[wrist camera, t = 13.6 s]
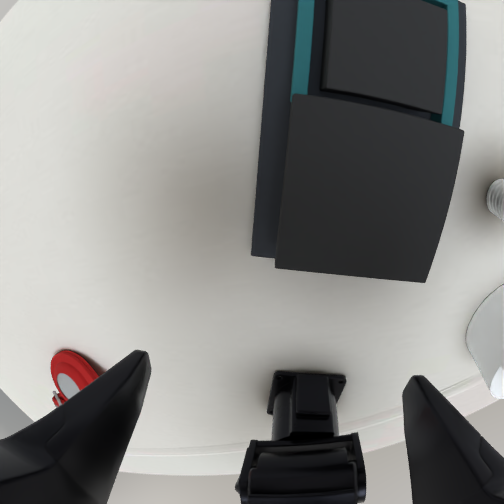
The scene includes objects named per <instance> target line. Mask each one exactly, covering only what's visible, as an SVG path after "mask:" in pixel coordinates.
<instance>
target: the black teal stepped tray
mask: <svg viewBox="0 0 504 504" xmlns="http://www.w3.org/2000/svg"><path fill="white" fill-rule="evenodd" d="M422 1H425V2H427V3H430V4H433V5H435V6H438V7H440V8H443V9H445V10H447V23H448V28H447V61H446V77H445V88H444V98H443V107H442V114H434V113H427V112H419V111H415V110H411V109H408V108H404V107H400V106H396V105H392V104H387V103H383V102H378V101H374V100H369V99H364V98H359V97H354V96H348V95H343V94H337V93H331V92H324V91H320V90H319V87H320V76H321V65H322V52H323V39H324V25H325V9H326V0H271V10H270V23H269V35H268V48H267V60H266V73H265V85H264V98H263V110H262V123H261V135H260V148H259V160H258V173H257V186H256V198H255V211H254V224H253V236H252V249H251V256H258V257H267V258H275V268H278V269H288V270H297V271H307V272H316V273H326V274H336V275H346V276H356V277H367V278H377V279H387V280H398V281H409V282H420V283H425V282H426V279H427V276H428V274H429V271H430V268H431V265H432V262H433V259H434V256H435V253H436V250H437V247H438V243H439V240H440V237H441V233H442V230H443V227H444V223H445V220H446V216H447V212H448V208H449V204H450V200H451V196H452V192H453V188H454V184H455V179H456V174H457V170H458V165H459V160H460V154H461V149H462V143H463V136H464V131H463V130H461V129H459V127H460V120H461V112H462V104H463V94H464V82H465V67H466V5H465V4H464V3H462V2H460V1H458V0H422Z"/></svg>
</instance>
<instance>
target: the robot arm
mask: <svg viewBox="0 0 504 504" xmlns="http://www.w3.org/2000/svg"><path fill="white" fill-rule="evenodd" d="M150 375H151V364H150V360H149V355H148V353H147V352H146V351H141V350H135V351H133V352H132V353H130V354H129V355H128V356H126V357H125V358H124V359H122V360H121V361H120V362H118V363H117V364H116V365H114V366H113V367H112V368H110V369H109V370H108V371H106V372H105V373H103V374H102V375H101V376H99V377H98V378H97V379H95V380H94V381H93V382H91V383H90V384H89V385H87V386H86V387H85V388H83V389H82V390H80V391H79V392H78V393H76V394H75V395H74V396H72V397H71V398H70V399H68V400H67V401H66V402H64V404H61V405H60V406H59V407H57V408H56V409H54V410H53V411H52V412H50V413H49V414H47V415H46V416H44V417H43V418H41V419H39V420H38V421H36V422H34V423H33V424H31V425H29V426H27V427H26V428H24V429H22V430H20V431H18V432H17V433H15V434H13V435H11V436H9V437H7V438H5V439H1V440H0V504H107V501H108V499H109V496H110V492H111V490H112V487H113V484H114V482H115V479H116V476H117V473H118V471H119V468H120V465H121V462H122V460H123V457H124V454H125V452H126V449H127V446H128V444H129V441H130V439H131V436H132V433H133V431H134V428H135V426H136V423H137V420H138V418H139V415H140V412H141V409H142V406H143V402H144V398H145V394H146V390H147V386H148V383H149V379H150ZM279 376H280V377H279ZM345 384H346V377H345V376H344V375H326V374H309V373H295V372H283V371H278V372H275V373H274V376H273V382H272V387H271V392H270V397H269V402H268V407H267V413H268V414H270V415H273V426H272V440H271V441H258V440H251V441H250V445H249V448H247V451H246V455H245V459H244V463H243V466H242V470H241V474H240V476H239V478H238V481H237V483H236V485H235V490H236V491H237V492H238V493H239V494H240V498H241V504H357V503H362V502H364V501H365V497H366V473H365V465H364V460H363V455H362V450H361V445H360V440H359V436H358V432H357V433H351V434H349V435H342V436H339V427H338V417H337V407H336V404H337V402H338V400H339V398H340V395H341V393H342V391H343V389H344V386H345ZM402 398H403V413H404V431H405V439H406V446H407V454H408V461H409V469H410V479H411V488H412V500H413V504H504V458H503V457H502V456H501V455H500V454H499V453H498V452H497V451H496V450H495V449H494V448H493V447H492V446H491V445H490V444H489V443H488V442H487V441H486V440H485V439H484V438H483V437H482V436H481V435H480V434H479V432H478V431H477V430H475V428H474V427H473V426H472V425H471V424H470V423H469V422H468V421H467V420H466V419H465V418H464V417H463V416H462V415H461V414H460V413H459V411H458V410H457V409H456V408H455V407H454V406H453V405H452V404H451V403H450V402H449V401H448V400H447V399H446V398H445V397H444V396H443V395H442V394H441V393H440V392H439V391H438V390H437V389H436V388H435V387H434V386H433V385H432V384H431V383H430V382H429V381H428V380H427V379H426V378H425V377H424V376H422V375H414V376H412V377H411V378H410V380H409V382H408V383H407V385H406V387H405V388H404V390H403V395H402Z"/></svg>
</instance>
